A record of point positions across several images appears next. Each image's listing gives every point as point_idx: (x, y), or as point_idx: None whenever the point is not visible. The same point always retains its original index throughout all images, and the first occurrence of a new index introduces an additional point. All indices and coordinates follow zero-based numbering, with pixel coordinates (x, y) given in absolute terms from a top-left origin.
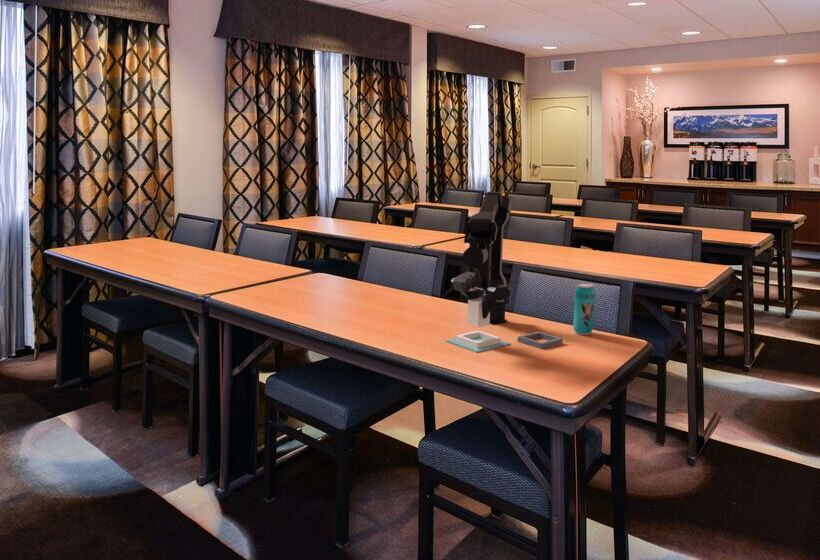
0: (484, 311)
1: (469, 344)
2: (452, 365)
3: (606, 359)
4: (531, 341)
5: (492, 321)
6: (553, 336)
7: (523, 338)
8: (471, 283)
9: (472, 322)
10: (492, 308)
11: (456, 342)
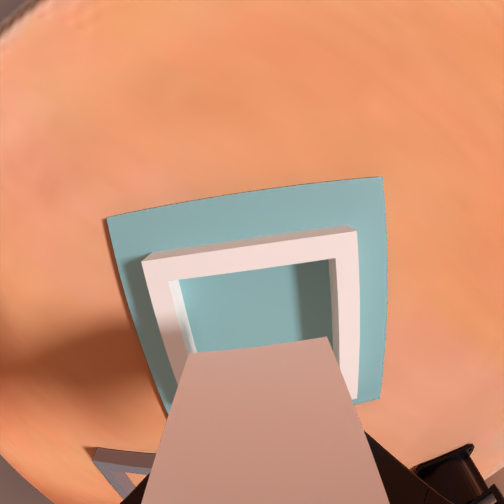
0: (135, 488)
1: (217, 244)
2: (36, 35)
3: (20, 462)
4: (132, 464)
5: (431, 469)
6: None
7: None
8: None
9: (263, 361)
10: (448, 500)
11: (311, 205)
